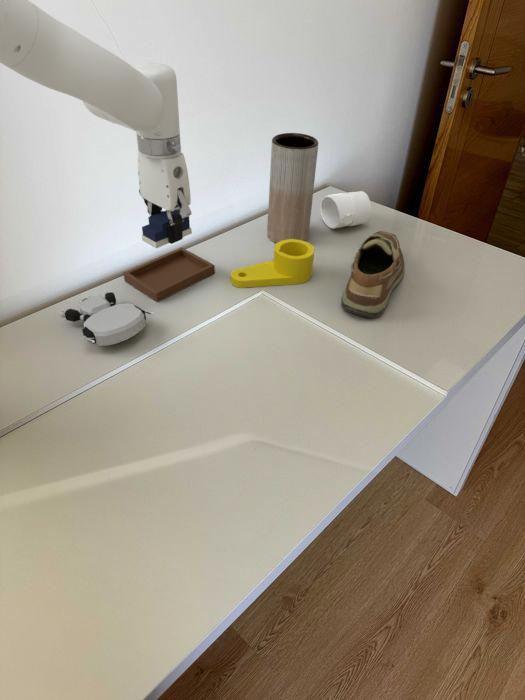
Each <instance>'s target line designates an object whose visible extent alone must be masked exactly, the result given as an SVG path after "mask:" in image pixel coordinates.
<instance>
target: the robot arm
mask: <svg viewBox="0 0 525 700" xmlns="http://www.w3.org/2000/svg"><path fill="white" fill-rule="evenodd" d="M0 64H2V65H4V66H5V67H6V68H9V69H10V70H12V71H14V72H16V73H17V74H18V75H20V76H22V77H24V78H26V79H28V80H30V81H33V82H35V83H37V84H39V85H40V86H43V87H46V88H48V89H50V90H54V91H56V92H59V93H61V94H65V95H68V96H71V97H73V98H76V99H78V100H80V101H82V103H83V105H84V107H85V108H86V109H87V110H88V111H89V112H90V113H91V114H92V115H94V116H96V118H97V117H98V118H99V119H102V120H105V121H106V122H110V123H112V124H117V125H119V126H121V127H124V128H127V129H129V130H132V131H135V134H136V135H135V136H136V141H137V175H138V176H137V178H138V186H139V189H138V193H139V195H140V197H141V198H142V199H143V202H144V204H145V206H146V208H147V210H146V211H147V214H148V215H149V217H150V216H153V215H155V214H158V213H161V212H163V211H164V210H165V211H166V212H167V216H168V220H169V224H168V225H167V230H168V241H169V243H168V244H171V245H172V244H175V243H178V242H179V241H182V240H183V238H184V237H183V232H182V222H183V221H184V219H185V218H186V217H188V216H189V217H190V216H191V215H192V210H191V208H190V205H191V204H192V203H191V202H192V198H191V188H190V187H191V186H190V179H189V173H188V167H187V162H186V158H185V155H184V153H182V146H181V145H182V144H181V129H180V128H181V127H180V113H179V112H180V111H179V97H178V82H177V74H176V71H175V70H174V68H173V67H171V66H170V65H168V64H164V63H156V62H148V63H147V62H146V63H141V64H138V65H134V66H132V64H129V63H128V62H127V61H125V60H124V59H122V58H120V56H118V55H116V54H115V53H113V52H111V51H110V50H108V49H106V48H105V47H102V46H101V45H99V44H97V42H94V41H93V40H91V39H89V38H87V37H86V36H84V35H83V34H81V33H80V32H78V31H77V30H75V29H73V28H72V27H70V26H68V25H67V24H64V23H63V22H61V21H59V20H58V19H56V18H55V17H53V16H51V15H50V14H49V13H47V12H46V11H44V10H43V9H42V8H40V7H39V6H37V5H36V4H34V3H33V2H32V1H30V0H0ZM163 209H164V210H163ZM174 211H176V213H177V214H176V215H175V216H173V212H174Z"/></svg>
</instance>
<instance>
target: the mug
mask: <svg viewBox="0 0 525 700" xmlns="http://www.w3.org/2000/svg"><path fill="white" fill-rule="evenodd" d="M320 214H321V218H322V220H323V222H324V223H325V225H326V226H327V227H328V228H329V229H330V230H331V229H332V230H335V229H340V228H344V227H354V226H359V225H363V224H367V222H368V221H369V220H370V218H371V214H372V204H371V200H370V197H369V195H368V194H367V193H366V192H365V191H363V190H359V191H349V192H340V193H331V194H328V195H326V196H324V197H322V199H321V201H320Z"/></svg>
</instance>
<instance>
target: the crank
mask: <svg viewBox="0 0 525 700" xmlns="http://www.w3.org/2000/svg"><path fill="white" fill-rule="evenodd" d="M314 256H315V248H314V246H313V244H311V243H310V242H308V241H302V240H296V239H288V240H283V241H280V242H278V243H275V245H274V248H273V260H269V261H264V262H261V263H260V262H259V263H257V264H253V265H248V266H244V267H240V268H237V269H233V270H232V271H231V272H230V283H231V285H232V286H233V287H236V288H240V289H243V288H244V289H245V288H260V287H273V286H274V287H275V286H289V285H300V284H304V283H306V282H308V281H309V280H310V279H311V278H312V276H313V275H312V273H313V266H314Z"/></svg>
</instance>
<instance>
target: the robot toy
mask: <svg viewBox="0 0 525 700" xmlns="http://www.w3.org/2000/svg"><path fill="white" fill-rule="evenodd" d="M78 304H79V305H78V308H79V310H78V309H73V308H68V309H63V310H61V311H60V312H59V313H58V316H59V317H61V318H62V319H63V318H65V320H66V321H69V322H72V323H75V322H78V321H83V322H84V323H83V328H82V329H81V330H82V335H83V336H82V339H83V340H84V341H87V342H89V343H91V344H92V345H95V344H96V345H97V346H98V347H100V346H101V347H105V346H106V347H108V346H113V345H116V344H119V343H121V342H124V341H126V340H129V339H130V338H132V337H134V336H136V335H137V334H139V332H141V331H142V330H143V329H144V328H145V326H146V320H147V314H148V315H151V316H154V315H155V313H154V312H153V311H152V312H151V311H148V310H145V309H144V308H141V307H139V306H138V305H135V304H134V305H133V304H132V303H119V304H117V297H116V295H115V292H113V291H111V290H110V291H106V292H104V296H102V295H89V296H88V297H85V298H83V299H82V298H81V299H80V300H79V301H78Z"/></svg>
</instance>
